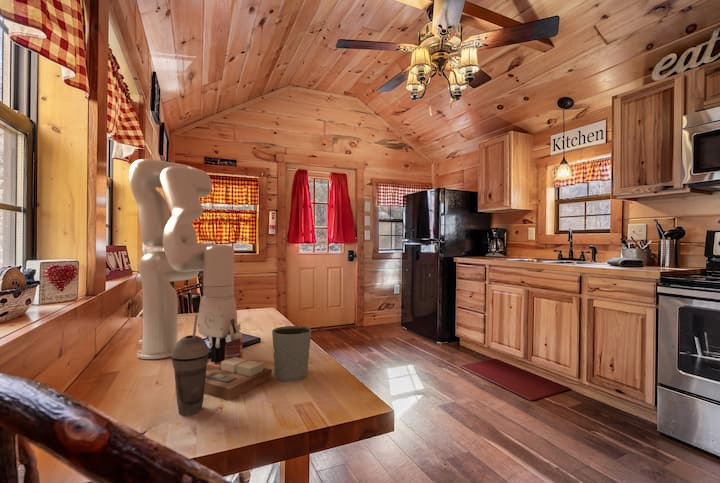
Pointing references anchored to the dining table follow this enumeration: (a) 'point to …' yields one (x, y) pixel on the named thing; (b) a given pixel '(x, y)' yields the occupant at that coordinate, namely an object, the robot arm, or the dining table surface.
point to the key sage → (249, 368)
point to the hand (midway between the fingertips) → (217, 361)
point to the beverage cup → (190, 372)
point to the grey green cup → (291, 352)
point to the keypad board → (232, 382)
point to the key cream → (232, 364)
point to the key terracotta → (214, 365)
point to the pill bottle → (234, 345)
